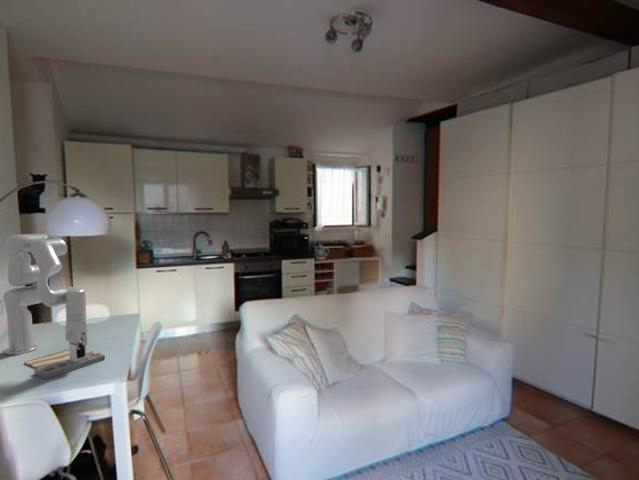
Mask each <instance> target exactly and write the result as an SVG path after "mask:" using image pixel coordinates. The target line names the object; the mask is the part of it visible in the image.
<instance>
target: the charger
mask: <svg viewBox="0 0 639 480" xmlns="http://www.w3.org/2000/svg"><path fill="white" fill-rule="evenodd" d="M80 342H82V340H81V341H80ZM68 343H69V342H68ZM81 344H82V343H80V345H81ZM68 346H69V349H68V350H69V352H70V362H73V363H77V362H80V361H83V360H86V353H87V348H86V347H87V346H85V356H84V357H81V358H77V349H78V348H77V344H74V343H69V345H68Z"/></svg>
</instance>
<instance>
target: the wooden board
mask: <svg viewBox="0 0 639 480" xmlns="http://www.w3.org/2000/svg"><path fill="white" fill-rule="evenodd" d="M66 359H70V352H69V349H68V348H67V349H64V350H61V351H57V352H54V353H50V354H46V355H44V356H43V355H42V356H40V357H36V358H33V359H29V360H27V361H24V365H27V366H29V367H32V368H33V369H38V368H41V367H44V366H47V365H50V364H54V363H57V362H60V361H63V360H66Z"/></svg>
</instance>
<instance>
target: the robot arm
mask: <svg viewBox="0 0 639 480" xmlns="http://www.w3.org/2000/svg"><path fill="white" fill-rule="evenodd" d="M4 246H5V249H6V250H5V252H6V253H7V257H8V261H7V262H8V267H7V269H8V270H7V281H8V284H9V285H10V286H13V287H16V288H12V289H11V288H10V289H9V290H7V291H5V292H4V294H3V297H2V301H3V303H4V307H5V311H6V312H5V313H6V322H7V323H6V324H7V337H8V348H6V349H5V350H4V354H5V355H8V356H15V355H16V356H17V355H23V354H27V353H30V352H32V351H35V350H37V349H38V344H35V343H34V333H33V317H32V312H31V311H30V310H29V309H28V308H27V307H28V306H31V305H32V306H33V305H37V304H41V303H42V304H43V305H44V306H45V307H50V308H52V307H57V306H62V305H65V316H66V317H65V320H66V321H65V322H66V323H65V329H64V330H65V335H64V336H65V340H66V341H67V342H68V343H74V344H77V348H78V349H77V358H81V357H84V356H85V346H86V345H88V326H87V322H86V321H87V303H86V299H87V297H86V291H85V290H84V289H83V288H77V287H75V286H65V287H59V288H53V289H51V288H50V286H49V284H48V280H49V278H50V277H52V276H54V275H55V274H56V275H57V274H58V273H59V272H60V271H61V270H62V269H63V264H62V262H61V260H60V258H59V256H60V257H61V256H64V255H65V254H67V252H68V246H67V243H66V242H65V240H63V239H62V238H60V237H59V236H58V237H57V236H56V235H52V234H49V233H25V234H24V233H23V234H14V235H10V236H9V237H8V238H7V239H6V240H5V245H4ZM29 252H30V253H31V255H32V257H33V259H34V261H35V263H36V264H32V263H31V262H32V257H31V256H30V254H29ZM26 285H27V286H26ZM19 286H20V287H19ZM80 341H82V342H80ZM80 343H82V344H81V345H80ZM86 347H87V346H86Z"/></svg>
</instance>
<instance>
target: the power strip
mask: <svg viewBox="0 0 639 480" xmlns="http://www.w3.org/2000/svg"><path fill="white" fill-rule="evenodd" d="M105 359H106V354H102V353H100V352H98V351H89V352H86V360H83V361H80V362H77V363H73V362H70V359H66V360H63V361H60V362H57V363H54V364H50V365H47V366H44V367H41V368H38V369H36V368H33V369H34V375H36V376H38V377H40V378H43V379H44V380H49V379H51V378H54V377H58V376H61V375H63V374H66V373H69V372H71V371H72V372H73V371H74V370H77V369H81V368H84V367H86V366H87V367H88V366H89V365H93V364H96V363H98V362H101V361H104V360H105Z"/></svg>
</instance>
